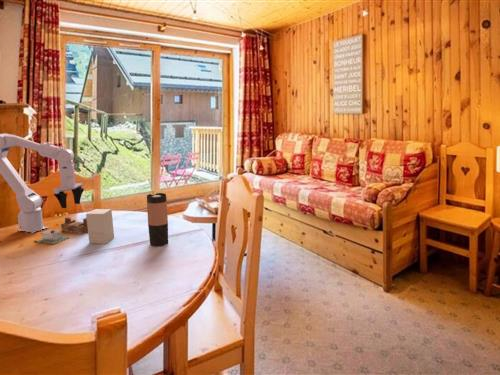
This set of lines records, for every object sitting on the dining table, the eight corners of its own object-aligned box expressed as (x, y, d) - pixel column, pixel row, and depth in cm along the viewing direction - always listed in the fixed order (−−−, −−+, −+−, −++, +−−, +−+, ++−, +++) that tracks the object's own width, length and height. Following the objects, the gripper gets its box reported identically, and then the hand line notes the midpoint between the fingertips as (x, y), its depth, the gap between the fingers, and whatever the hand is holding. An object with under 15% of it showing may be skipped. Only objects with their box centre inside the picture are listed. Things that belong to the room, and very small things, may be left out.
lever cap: (42, 240, 141) (40, 231, 140) (51, 236, 145) (50, 228, 145) (53, 241, 139) (52, 233, 139) (62, 238, 143) (61, 229, 143)
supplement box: (114, 237, 145) (112, 208, 142) (105, 244, 138) (103, 214, 135) (98, 237, 146) (95, 208, 143) (88, 243, 139) (85, 213, 136)
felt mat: (34, 241, 140) (34, 240, 140) (51, 235, 148) (51, 234, 148) (53, 244, 137) (53, 243, 137) (69, 238, 145) (69, 237, 144)
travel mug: (163, 247, 135) (161, 197, 131) (145, 245, 136) (142, 196, 132) (171, 240, 142) (169, 193, 138) (154, 239, 143) (152, 192, 139)
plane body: (61, 230, 154) (60, 217, 153) (70, 227, 159) (69, 214, 157) (85, 233, 150) (83, 220, 149) (93, 230, 155) (92, 217, 153)
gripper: (61, 179, 145) (64, 210, 147) (87, 174, 158) (89, 202, 161) (48, 178, 147) (52, 209, 150) (75, 173, 160) (78, 201, 163)
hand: (70, 205), depth 155 cm, fingers open, 7 cm apart
